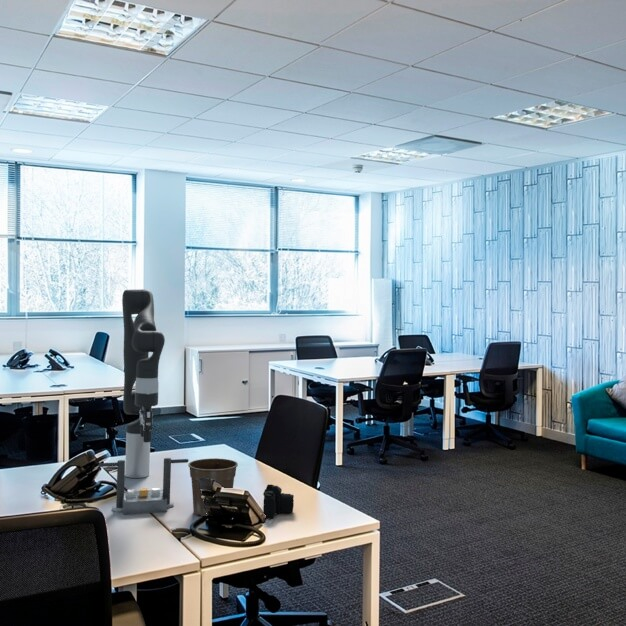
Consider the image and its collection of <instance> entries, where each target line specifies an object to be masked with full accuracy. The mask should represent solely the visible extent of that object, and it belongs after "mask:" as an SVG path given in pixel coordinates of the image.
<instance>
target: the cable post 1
mask: <svg viewBox="0 0 626 626" xmlns="http://www.w3.org/2000/svg"><path fill="white" fill-rule="evenodd" d="M125 462H126V459H125V460H124V459H120V460H117V462H99V464H98V467H100V468H105V467H106V468H107V467H116V468H117V469H116V470H117V473H116V501H115V504H116V505H113V506H112V507H111V510H112V512H115V513H117V512H118V513H120V512H122V498H123V497H124V492H125V477H126V476H125Z"/></svg>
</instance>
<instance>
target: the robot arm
mask: <svg viewBox="0 0 626 626" xmlns="http://www.w3.org/2000/svg"><path fill="white" fill-rule="evenodd" d="M121 302H122V303H121V304H122V319H123V373H124V374H123V375H124V379H123V380H124V381H123V400H122V401H123V403H122V405H123V409H122V410H123V412H124V413H125V414H126V415H136V416H137V415H139V419H138V420H136V421H133V422H129V423H128V424H127V425H126V431H125V434H126V435H125V477H127V478H129V479H130V478H131V479H141V478H142V479H143V478H146V477H149V476H150V467H151V466H150V463H151V462H150V461H151V460H150V459H151V458H150V457H151V456H150V454H151V437H152V436H151V435H152V434H151V433H152V430H153V416H154V412H153V410H152V407H156V406H157V405H159V388H160V387H159V386H160V385H159V364H160V359H161V355H162V352H163V349H164V346H165V343H166V342H165V336H164V334H163V333H162V332H161V331H159V330H157V326H156V324H155V306H154V305H155V304H154V303H155V301H154V295H153V293H152V291H151V290H149V289H147V288H146V289H142V288H141V289H140V288H139V289H126V290H124V291H123V293H122V299H121ZM133 315H136V316H135V318H134V319H133V317H132V316H133ZM149 353H152V354H151V355H150V356H149ZM134 385H135V386H134ZM133 388H134V390H133Z"/></svg>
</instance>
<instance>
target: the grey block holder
mask: <svg viewBox="0 0 626 626" xmlns="http://www.w3.org/2000/svg"><path fill="white" fill-rule="evenodd" d="M166 512H168V508H167V497H166V495H163V488H162V489H161V488H160V487H152V488H151V490H150V489H149V490H148V496H143V497H140V490H136V489H133V488H132V489H127V491H124V497H123V498H122V515H123V516H127V515H137V514H138V515H140V514H152V513H153V514H154V513H166Z"/></svg>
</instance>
